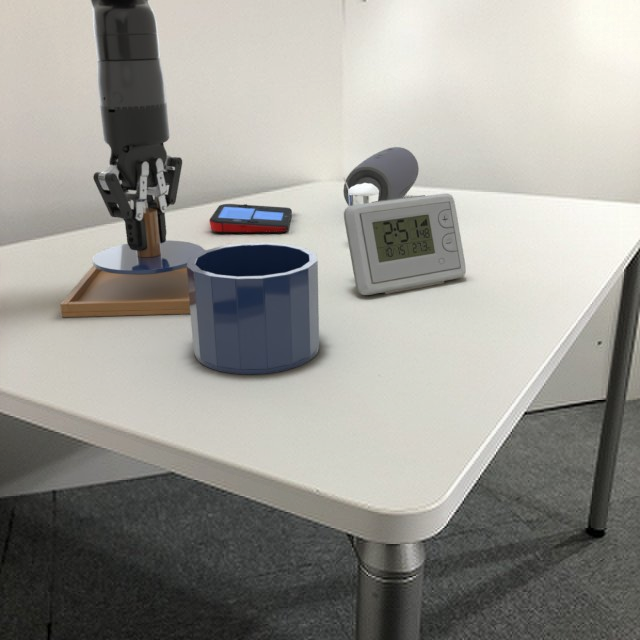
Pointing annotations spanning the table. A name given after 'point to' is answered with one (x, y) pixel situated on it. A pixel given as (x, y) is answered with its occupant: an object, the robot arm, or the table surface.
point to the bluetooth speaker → (386, 173)
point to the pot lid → (147, 253)
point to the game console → (250, 219)
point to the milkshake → (362, 193)
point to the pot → (254, 307)
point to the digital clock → (404, 243)
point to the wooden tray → (128, 294)
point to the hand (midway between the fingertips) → (147, 245)
